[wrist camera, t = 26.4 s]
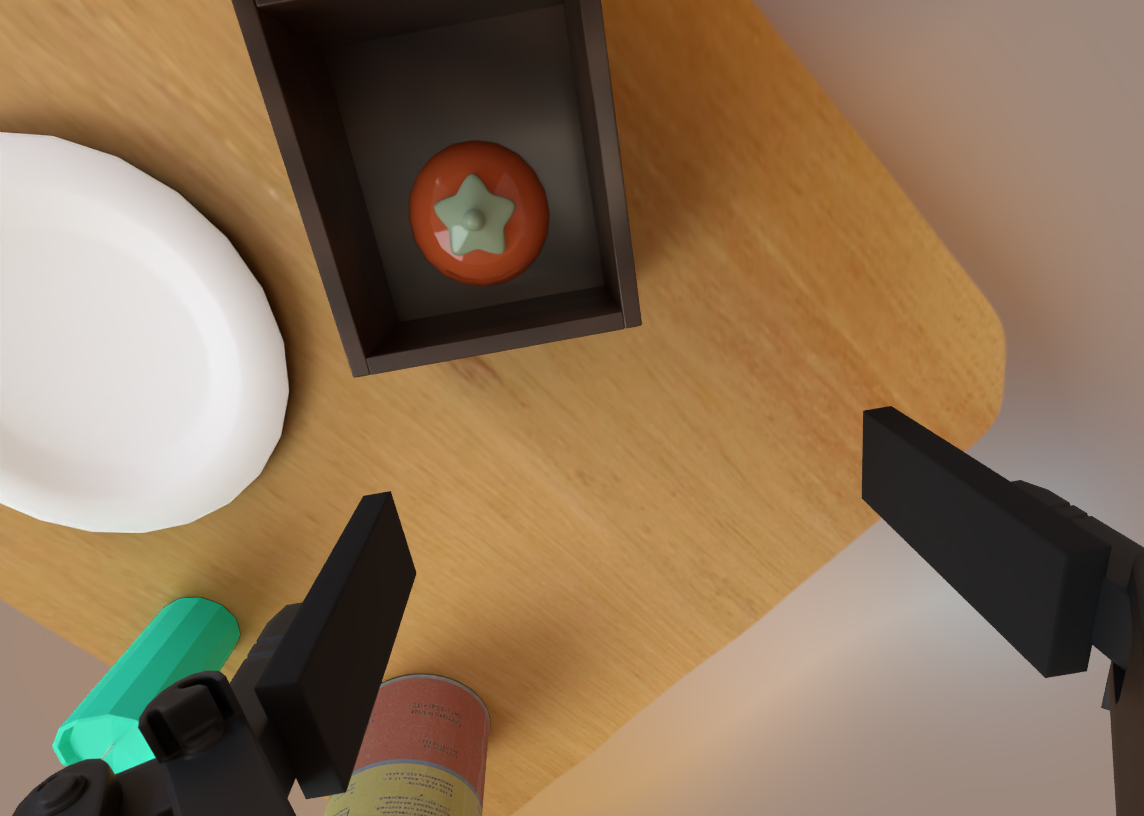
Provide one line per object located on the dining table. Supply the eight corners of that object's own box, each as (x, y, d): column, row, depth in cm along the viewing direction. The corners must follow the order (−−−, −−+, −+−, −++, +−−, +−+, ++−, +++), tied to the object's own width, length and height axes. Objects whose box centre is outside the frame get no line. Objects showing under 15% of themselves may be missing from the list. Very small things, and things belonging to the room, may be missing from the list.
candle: (142, 608, 44) (9, 754, 33) (216, 587, 44) (108, 727, 33) (183, 667, 46) (71, 822, 35) (254, 647, 46) (165, 797, 35)
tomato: (429, 278, 36) (402, 304, 28) (414, 145, 33) (380, 135, 26) (551, 274, 36) (555, 298, 29) (546, 141, 34) (549, 130, 26)
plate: (350, 256, 36) (342, 260, 34) (239, 569, 43) (227, 583, 42) (-117, 42, 31) (-153, 35, 29) (-153, 440, 38) (-183, 451, 37)
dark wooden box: (618, 294, 38) (642, 326, 30) (392, 335, 38) (352, 378, 30) (575, -13, 32) (590, -82, 23) (306, 36, 32) (225, -15, 23)
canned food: (327, 730, 50) (267, 890, 38) (414, 651, 47) (377, 797, 36) (431, 790, 53) (404, 953, 42) (517, 719, 50) (513, 873, 39)
